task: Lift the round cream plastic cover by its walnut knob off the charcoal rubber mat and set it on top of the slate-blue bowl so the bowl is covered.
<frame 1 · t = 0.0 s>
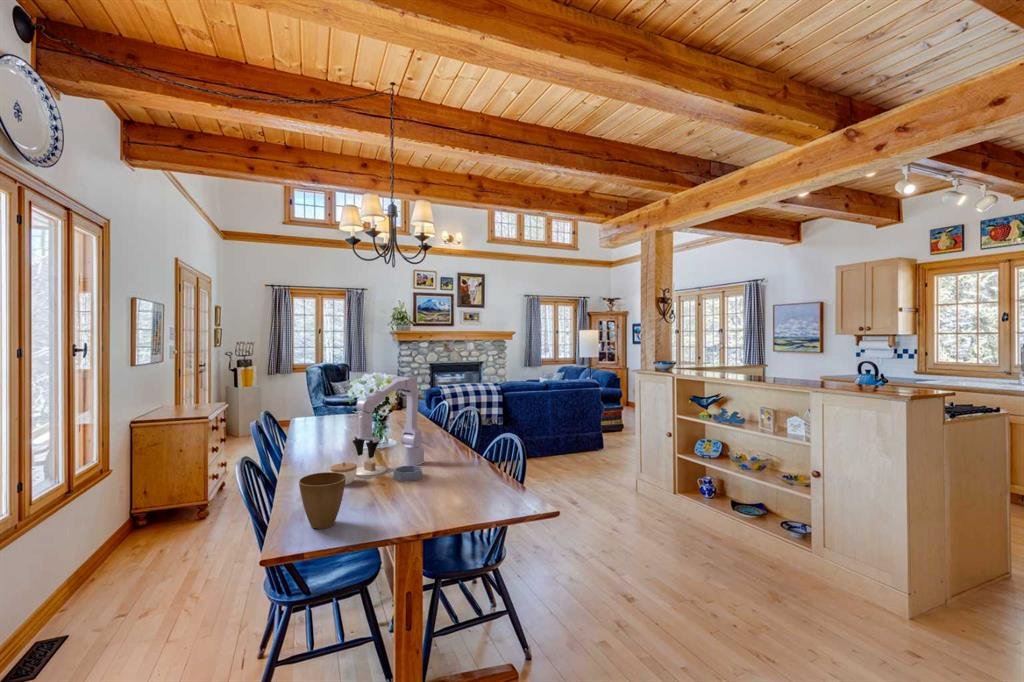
hand: (365, 456, 215), 10 cm above the table, tool pointing down, fingers open, 7 cm apart
mat: (369, 472, 226), on the table
bowl: (407, 477, 218), on the table
plant pot: (323, 525, 164), on the table
cover: (369, 471, 226), resting on mat
lidded jar: (343, 484, 208), on the table
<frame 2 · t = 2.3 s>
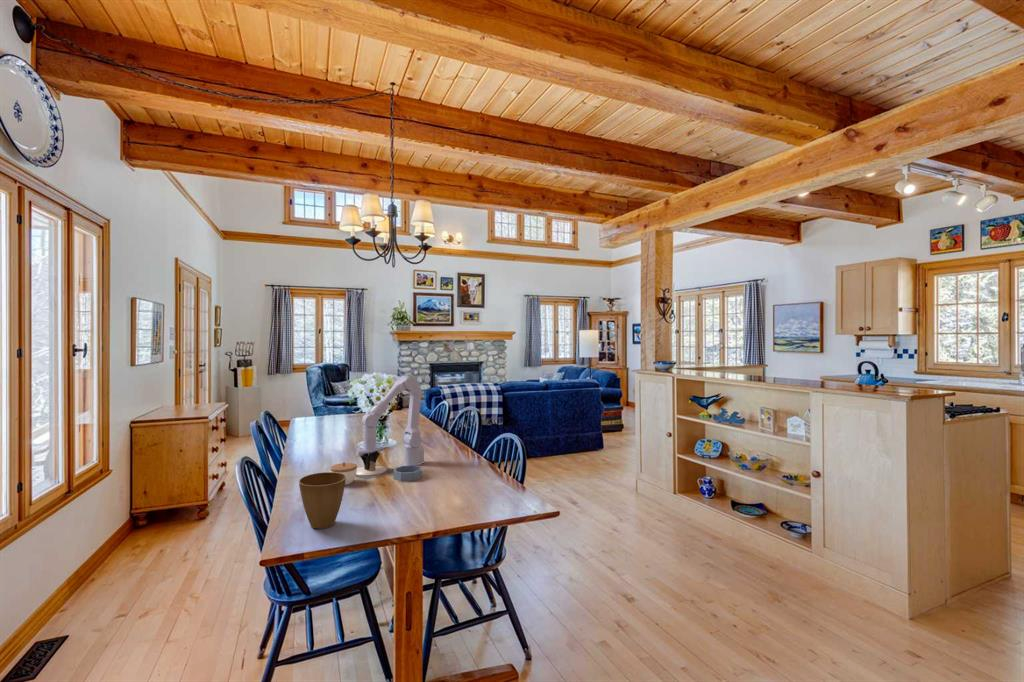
hand: (369, 468, 226), 2 cm above the table, tool pointing down, fingers closed on cover, 2 cm apart
cover: (369, 471, 226), resting on mat, touching gripper
everything else where it was.
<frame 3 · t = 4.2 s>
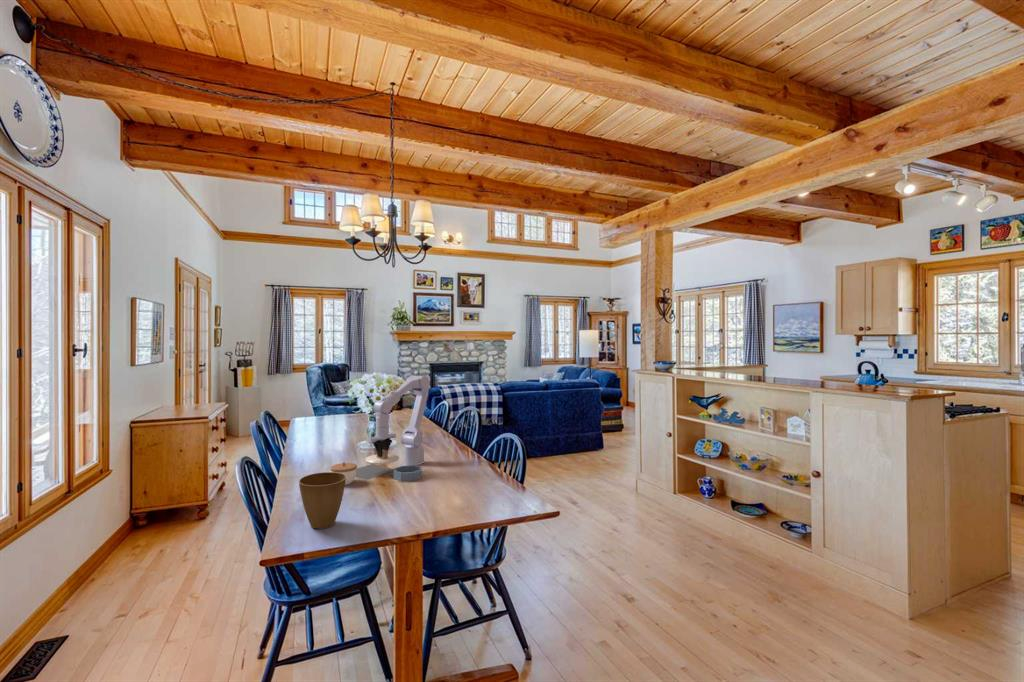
hand: (382, 455, 223), 8 cm above the table, tool pointing down, fingers closed on cover, 2 cm apart
cover: (382, 459, 223), point 7 cm above the table, touching gripper
everything else where it was.
when the fingers open (6 cm above the table, at t = 6.5 s): cover stays where it is, resting on bowl.
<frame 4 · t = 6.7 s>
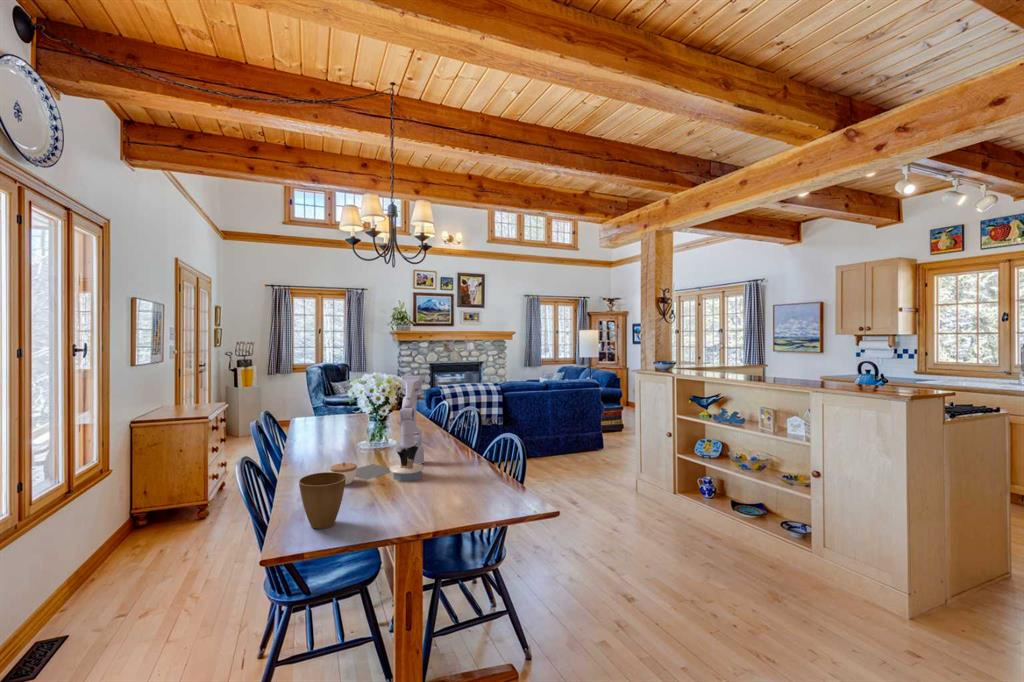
hand: (407, 464, 218), 6 cm above the table, tool pointing down, fingers open, 4 cm apart
cover: (406, 469, 218), point 4 cm above the table, touching bowl
everything else where it was.
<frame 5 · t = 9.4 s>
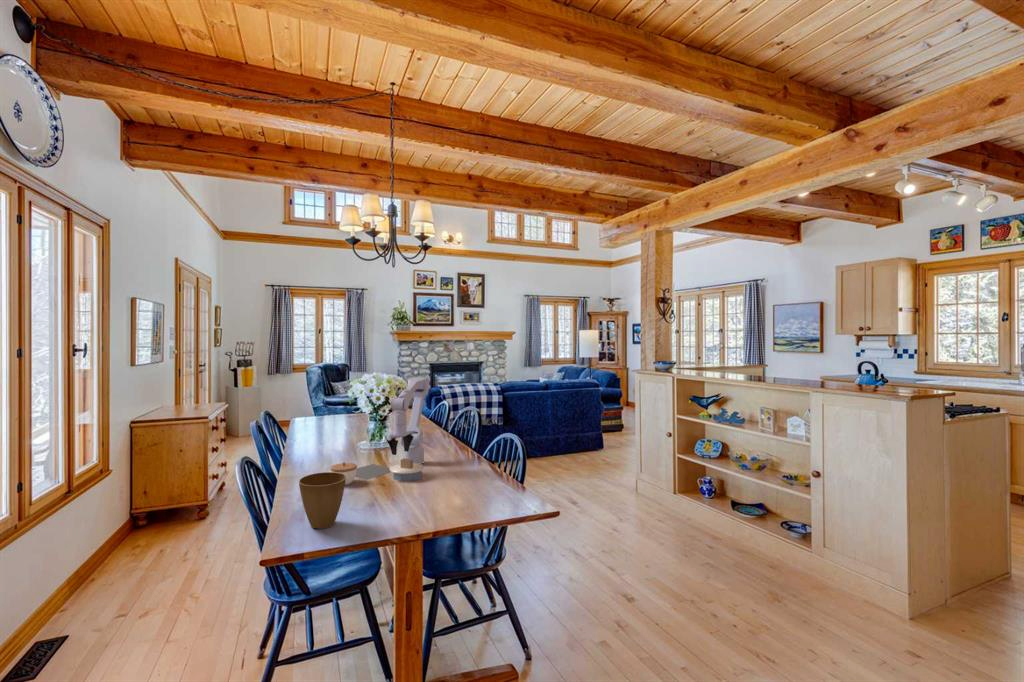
hand: (400, 452, 224), 9 cm above the table, tool pointing down, fingers open, 7 cm apart
nothing on the table moved.
at the end: cover 0.5 cm off-centre on the bowl, point 3.8 cm above the bowl's base; cover tilted 0°; the gripper is holding nothing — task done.
